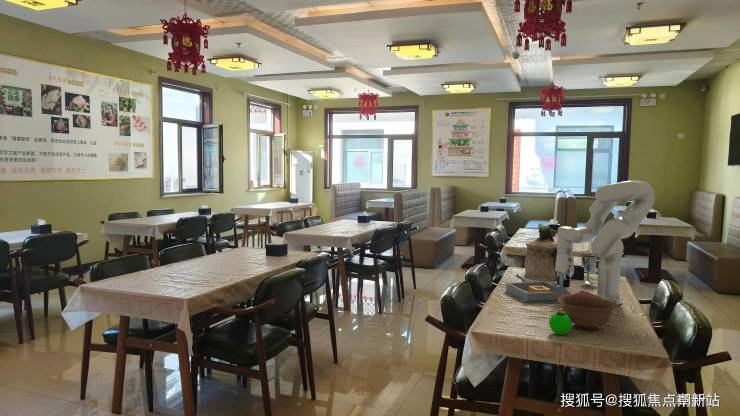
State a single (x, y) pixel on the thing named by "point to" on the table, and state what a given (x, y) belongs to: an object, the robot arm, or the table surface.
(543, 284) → the walled box
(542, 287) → the frame
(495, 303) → the table surface
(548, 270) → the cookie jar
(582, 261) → the wine glass
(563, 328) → the ornament
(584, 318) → the bowl
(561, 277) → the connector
